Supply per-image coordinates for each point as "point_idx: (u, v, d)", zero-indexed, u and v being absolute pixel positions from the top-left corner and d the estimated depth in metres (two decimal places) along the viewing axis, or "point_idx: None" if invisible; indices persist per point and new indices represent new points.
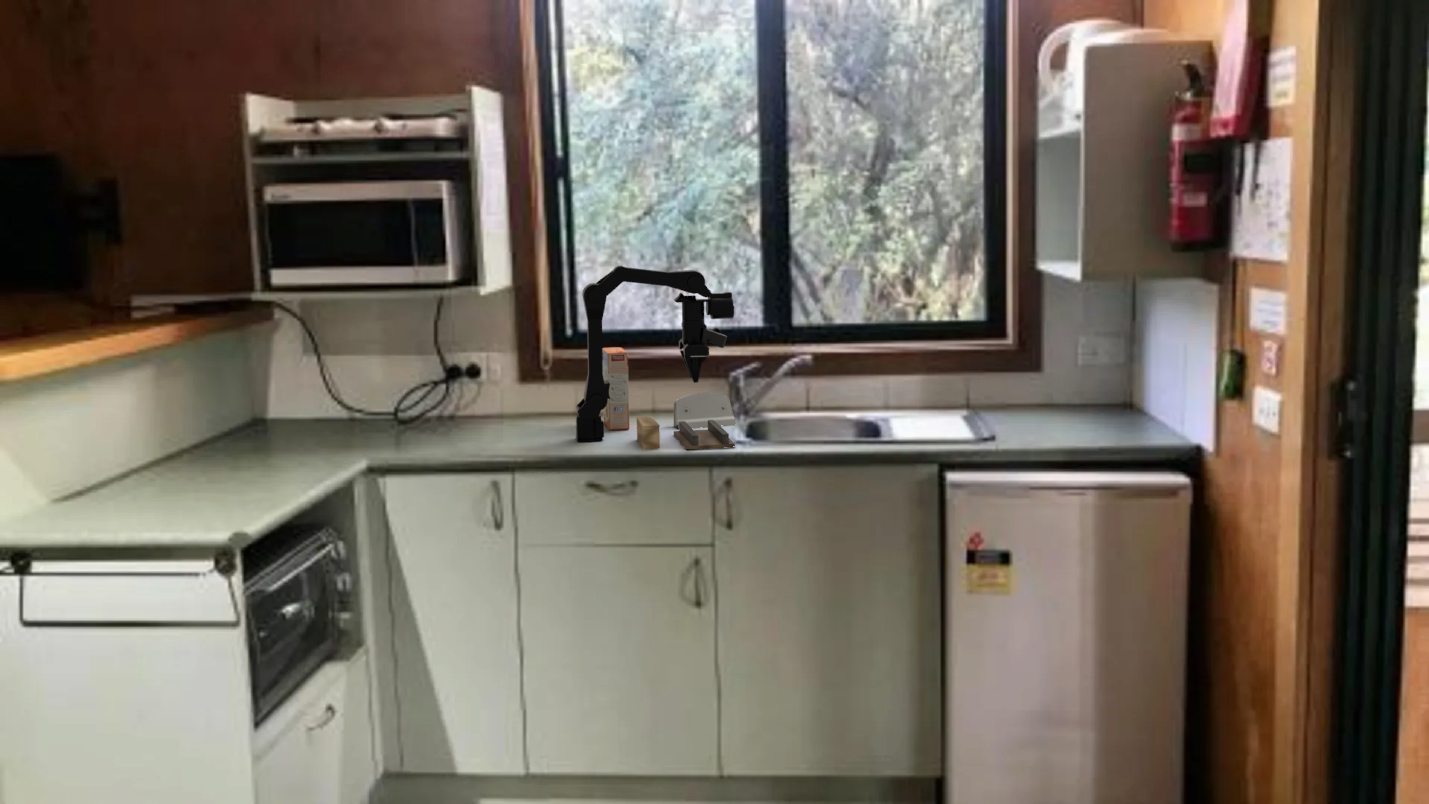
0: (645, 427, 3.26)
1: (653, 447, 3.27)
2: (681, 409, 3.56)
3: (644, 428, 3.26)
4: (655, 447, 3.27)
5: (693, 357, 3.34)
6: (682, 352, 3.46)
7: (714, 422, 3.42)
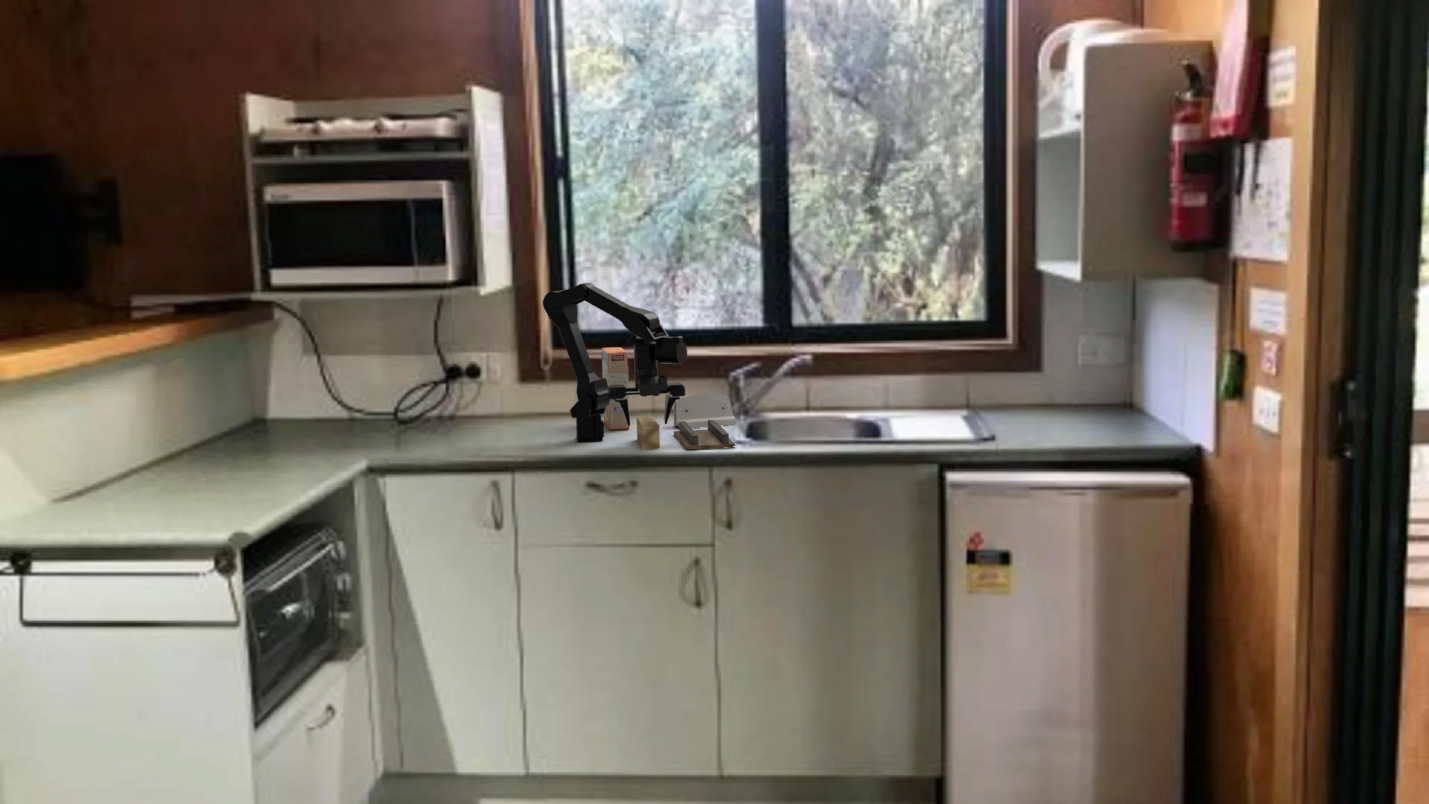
0: (645, 427, 3.26)
1: (653, 447, 3.27)
2: (681, 409, 3.56)
3: (644, 428, 3.26)
4: (655, 447, 3.27)
5: (614, 398, 3.31)
6: (665, 396, 3.35)
7: (714, 422, 3.42)
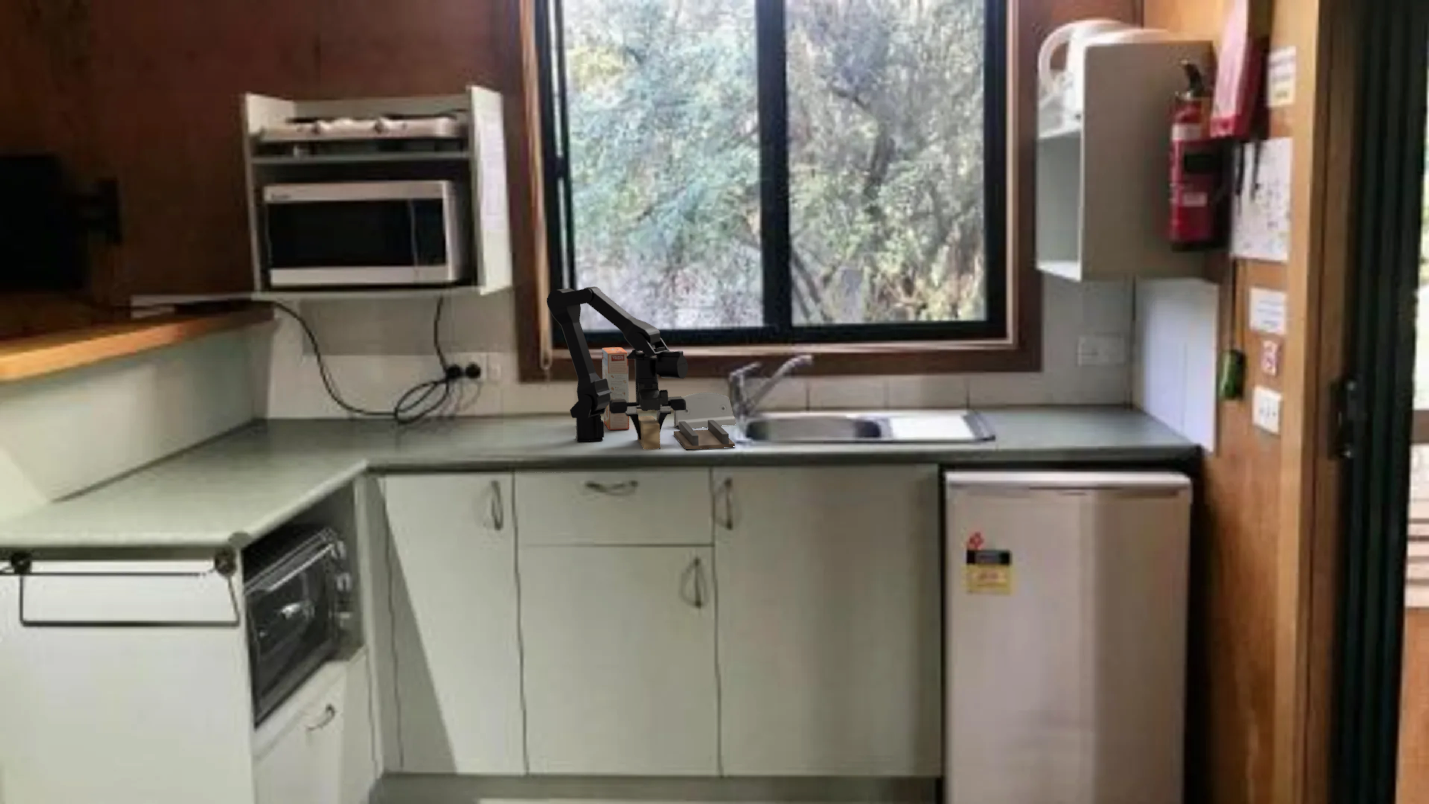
0: (645, 426, 3.25)
1: (653, 446, 3.27)
2: None
3: (644, 427, 3.25)
4: (655, 446, 3.27)
5: (625, 412, 3.32)
6: (657, 410, 3.35)
7: (714, 422, 3.42)
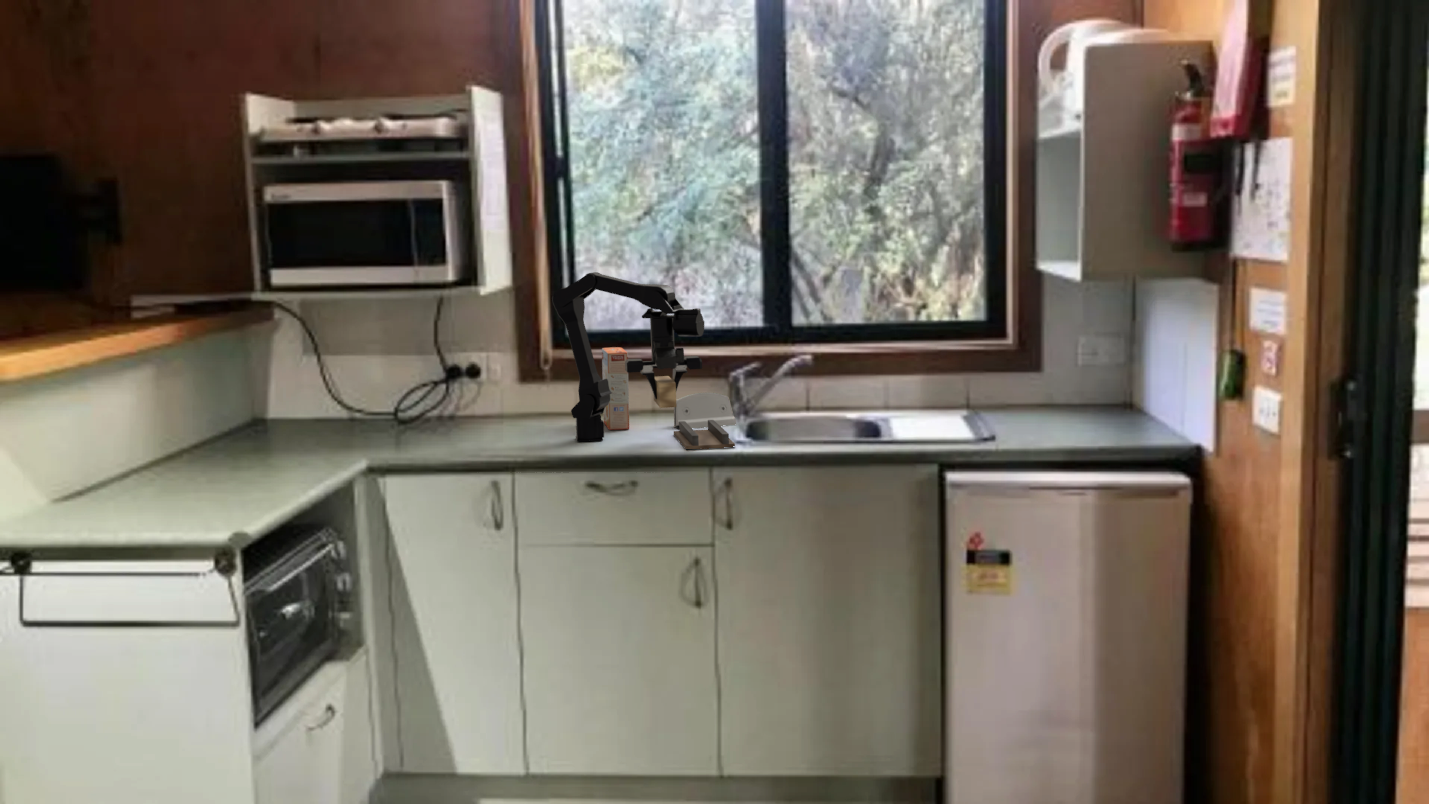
0: (661, 385, 3.25)
1: (669, 405, 3.26)
2: (681, 409, 3.56)
3: (660, 386, 3.25)
4: (672, 405, 3.26)
5: (641, 372, 3.31)
6: (673, 370, 3.34)
7: (714, 422, 3.42)
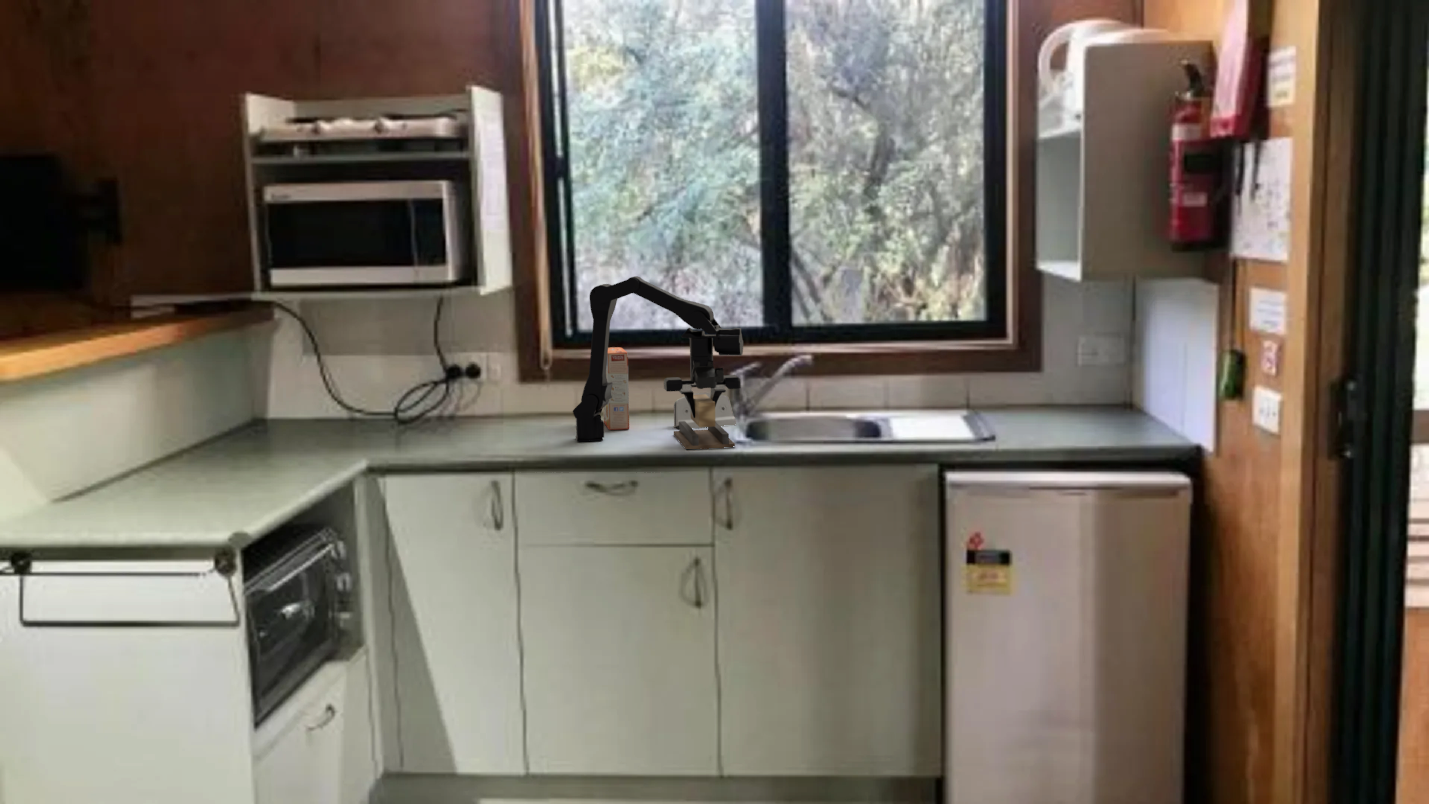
0: (701, 404, 3.27)
1: (709, 424, 3.28)
2: (682, 409, 3.55)
3: (700, 405, 3.27)
4: (711, 424, 3.28)
5: (679, 390, 3.34)
6: (711, 389, 3.37)
7: None
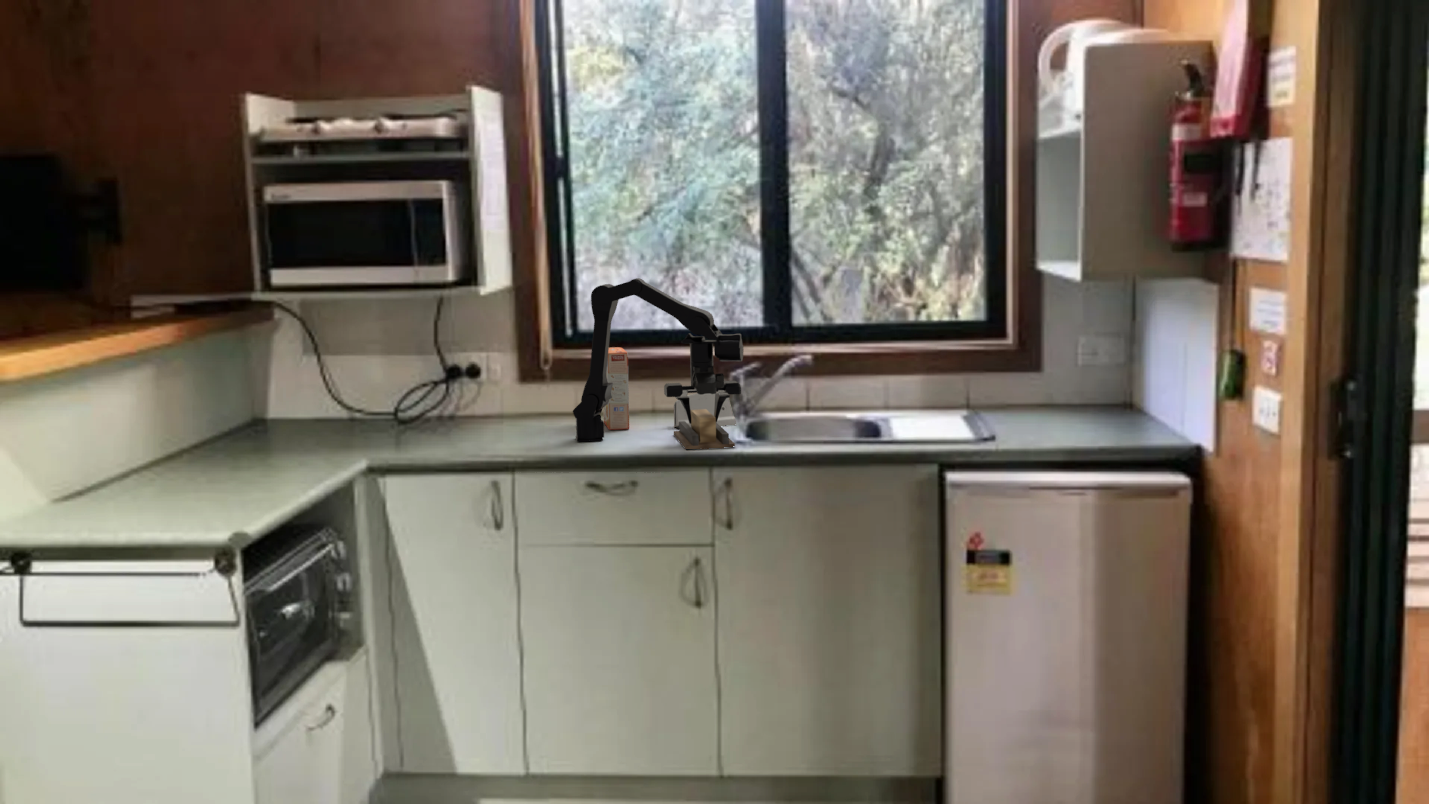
0: (702, 419, 3.28)
1: (709, 439, 3.29)
2: (682, 409, 3.55)
3: (701, 420, 3.28)
4: (711, 439, 3.29)
5: (675, 396, 3.34)
6: (715, 394, 3.37)
7: None
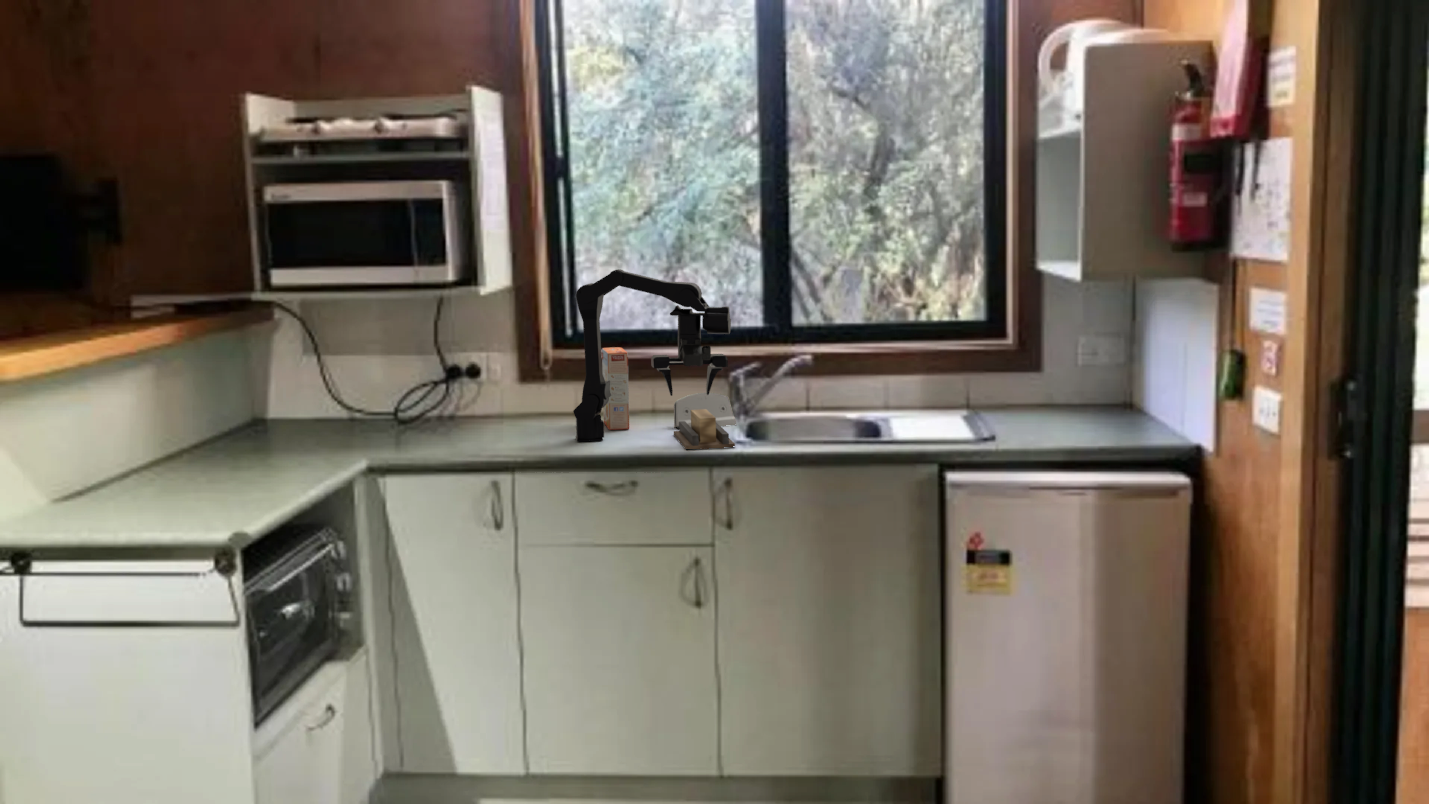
0: (702, 419, 3.28)
1: (709, 439, 3.29)
2: (682, 410, 3.55)
3: (701, 420, 3.28)
4: (711, 439, 3.29)
5: (657, 368, 3.34)
6: None
7: None
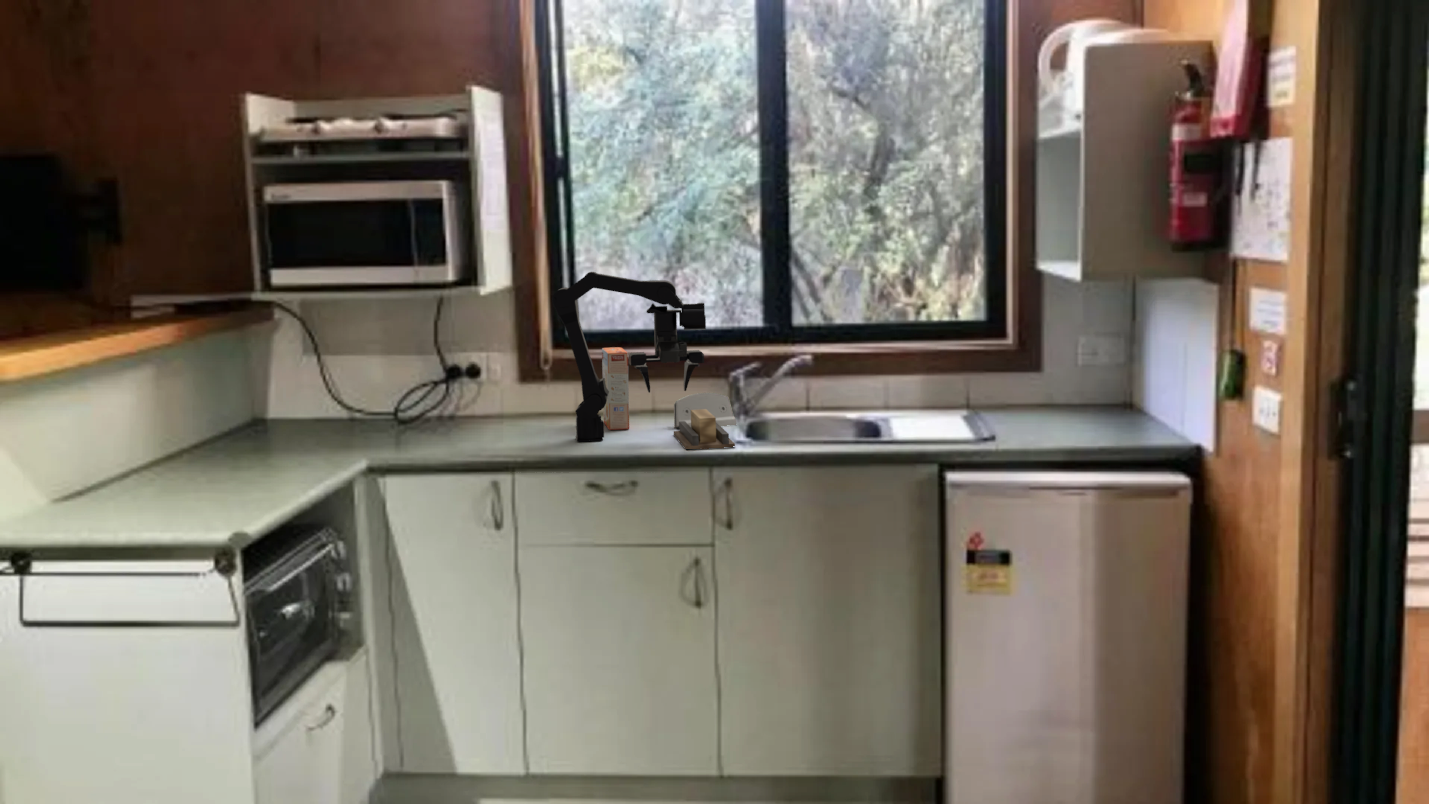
0: (702, 419, 3.28)
1: (709, 439, 3.29)
2: (682, 410, 3.55)
3: (701, 420, 3.28)
4: (711, 439, 3.29)
5: (634, 365, 3.38)
6: None
7: None
